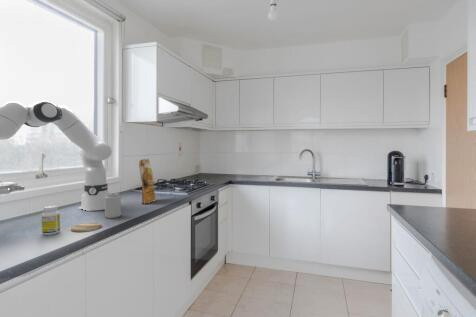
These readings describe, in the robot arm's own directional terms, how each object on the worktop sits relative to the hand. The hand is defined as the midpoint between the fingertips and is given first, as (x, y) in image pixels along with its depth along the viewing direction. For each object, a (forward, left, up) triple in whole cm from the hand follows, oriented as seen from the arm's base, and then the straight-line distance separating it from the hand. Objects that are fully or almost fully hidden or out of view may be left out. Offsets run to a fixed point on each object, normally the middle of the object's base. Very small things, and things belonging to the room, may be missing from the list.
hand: (16, 189), depth 112 cm
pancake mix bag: (-61, +42, -19) cm, 77 cm away
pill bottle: (0, +12, -19) cm, 22 cm away
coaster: (-5, +24, -19) cm, 31 cm away
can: (-24, +30, -19) cm, 43 cm away
